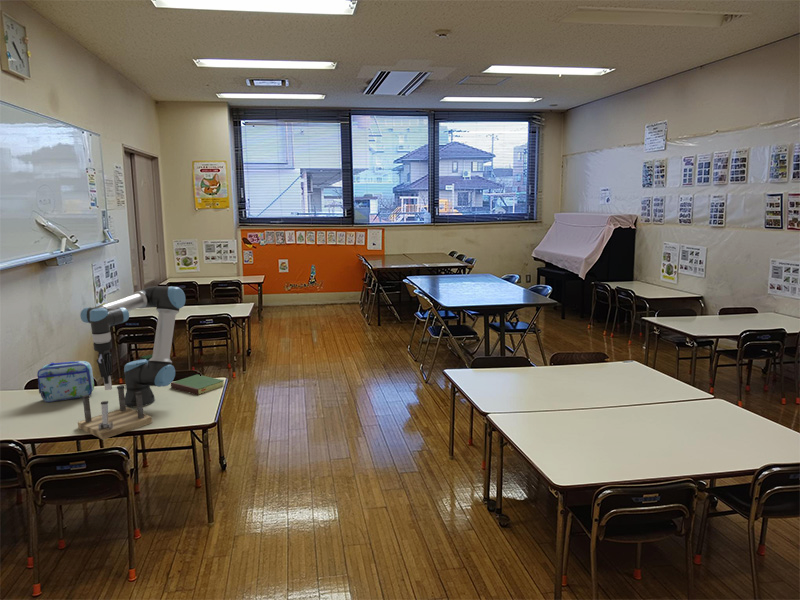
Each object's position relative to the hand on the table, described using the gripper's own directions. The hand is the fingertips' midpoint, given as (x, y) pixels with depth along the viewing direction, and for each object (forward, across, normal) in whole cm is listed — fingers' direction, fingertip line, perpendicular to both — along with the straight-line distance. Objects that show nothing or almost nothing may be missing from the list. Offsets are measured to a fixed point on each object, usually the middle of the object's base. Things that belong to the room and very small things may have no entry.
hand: (108, 389), depth 263 cm
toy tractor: (+22, -76, -5) cm, 79 cm away
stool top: (+20, -4, 0) cm, 20 cm away
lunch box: (+21, -52, -41) cm, 69 cm away
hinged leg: (+10, +6, 0) cm, 12 cm away
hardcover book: (+22, -57, +28) cm, 67 cm away
